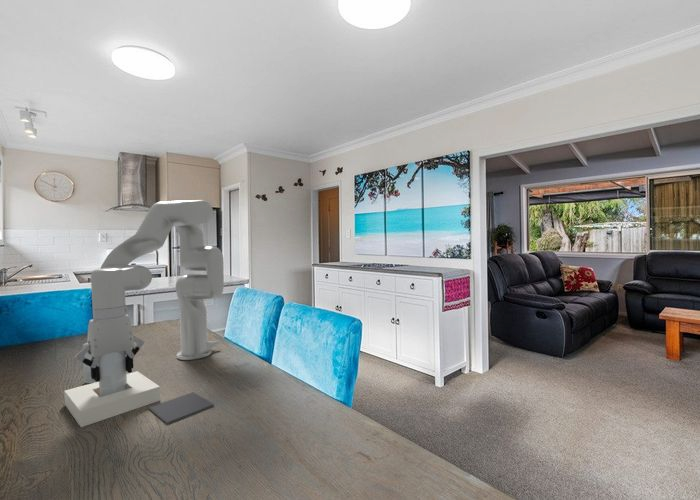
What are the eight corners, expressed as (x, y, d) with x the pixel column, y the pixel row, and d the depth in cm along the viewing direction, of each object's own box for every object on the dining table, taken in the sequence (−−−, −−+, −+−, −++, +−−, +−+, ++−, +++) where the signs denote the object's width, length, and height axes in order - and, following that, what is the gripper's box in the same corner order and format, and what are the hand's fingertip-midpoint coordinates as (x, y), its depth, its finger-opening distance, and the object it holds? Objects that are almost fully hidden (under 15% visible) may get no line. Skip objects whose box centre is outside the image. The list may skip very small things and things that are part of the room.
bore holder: (137, 383, 110) (137, 371, 110) (160, 400, 98) (159, 386, 98) (65, 404, 96) (64, 390, 96) (80, 427, 84) (80, 411, 84)
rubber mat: (193, 393, 102) (193, 391, 102) (213, 406, 94) (213, 404, 94) (148, 409, 93) (148, 407, 93) (166, 424, 85) (166, 422, 85)
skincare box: (111, 388, 100) (110, 347, 100) (127, 387, 101) (126, 346, 100) (98, 398, 94) (97, 354, 94) (115, 397, 95) (113, 353, 94)
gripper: (139, 305, 105) (142, 363, 106) (67, 317, 92) (70, 382, 93) (149, 309, 100) (152, 369, 101) (73, 321, 87) (77, 390, 88)
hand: (113, 375), depth 97 cm, fingers closed on skincare box, 7 cm apart
